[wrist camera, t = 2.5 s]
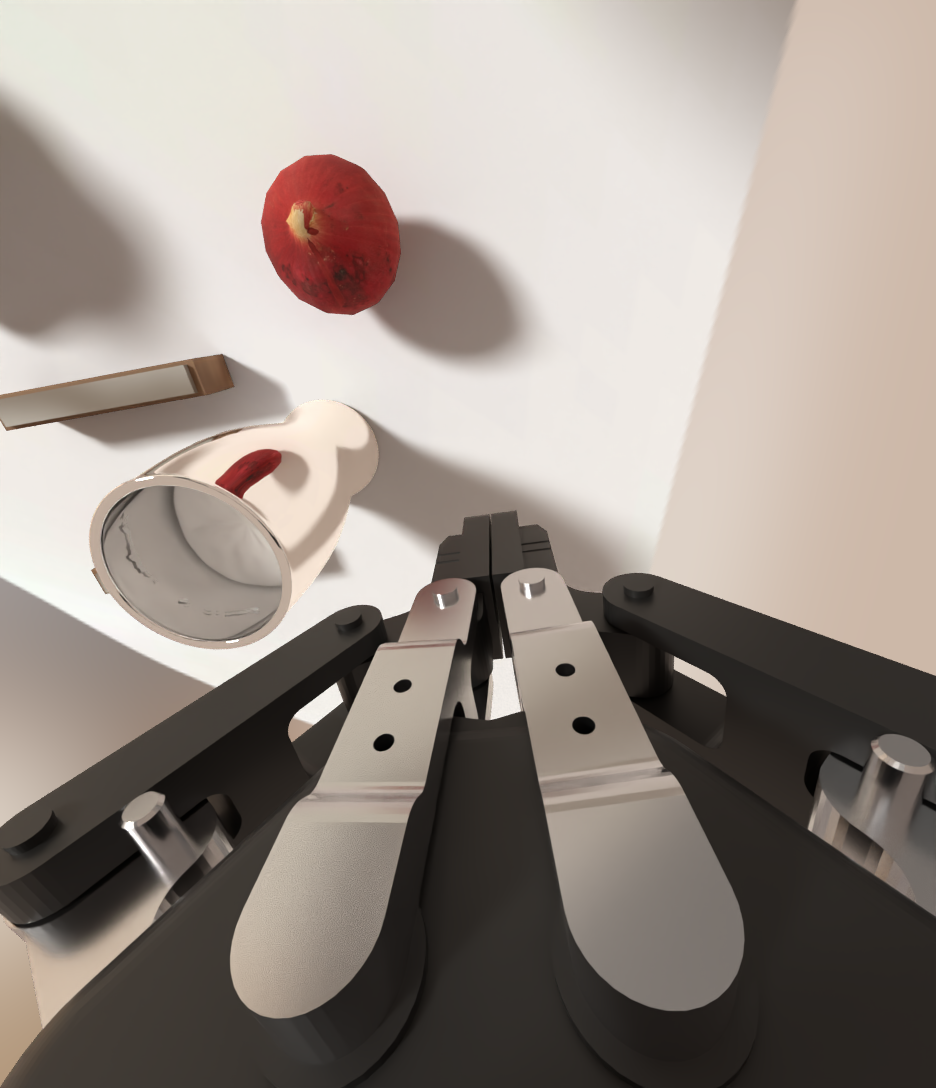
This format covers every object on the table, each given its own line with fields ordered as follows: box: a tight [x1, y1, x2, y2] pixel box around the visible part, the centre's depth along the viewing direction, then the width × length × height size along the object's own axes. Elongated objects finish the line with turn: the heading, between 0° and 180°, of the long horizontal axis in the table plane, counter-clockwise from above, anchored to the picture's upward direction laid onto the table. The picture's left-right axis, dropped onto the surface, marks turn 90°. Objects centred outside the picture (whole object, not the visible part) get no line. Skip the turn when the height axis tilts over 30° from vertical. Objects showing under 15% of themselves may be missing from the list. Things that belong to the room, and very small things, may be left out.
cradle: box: [0, 354, 234, 594], centre depth 28 cm, size 13×12×3 cm
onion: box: [261, 154, 401, 315], centre depth 20 cm, size 6×6×8 cm
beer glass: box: [89, 400, 379, 649], centre depth 22 cm, size 7×7×15 cm
